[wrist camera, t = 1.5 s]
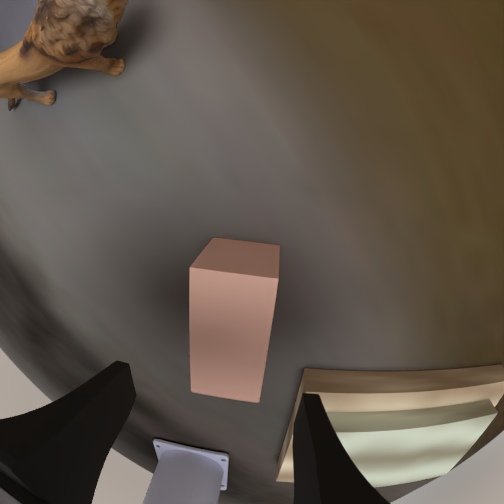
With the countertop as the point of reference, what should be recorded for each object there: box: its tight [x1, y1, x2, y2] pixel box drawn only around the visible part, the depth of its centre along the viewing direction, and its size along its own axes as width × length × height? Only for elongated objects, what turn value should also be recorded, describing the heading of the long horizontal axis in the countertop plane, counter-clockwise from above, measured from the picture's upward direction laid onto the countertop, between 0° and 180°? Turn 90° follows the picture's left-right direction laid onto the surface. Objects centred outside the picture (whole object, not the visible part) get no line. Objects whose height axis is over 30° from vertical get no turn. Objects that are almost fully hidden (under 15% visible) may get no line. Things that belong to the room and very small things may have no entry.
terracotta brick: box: [189, 237, 280, 403], centre depth 17 cm, size 8×4×5 cm, turn 174°
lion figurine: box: [0, 0, 128, 111], centre depth 11 cm, size 15×5×9 cm, turn 103°
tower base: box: [276, 364, 504, 487], centre depth 20 cm, size 14×20×4 cm
